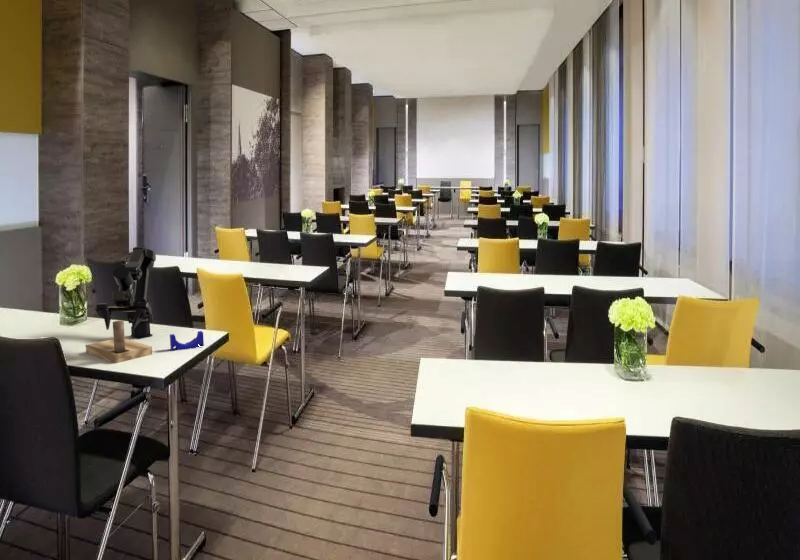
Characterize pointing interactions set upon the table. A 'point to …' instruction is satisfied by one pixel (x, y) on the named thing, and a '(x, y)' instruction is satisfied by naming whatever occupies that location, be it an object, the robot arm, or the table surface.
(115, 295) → the robot arm
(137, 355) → the stool seat
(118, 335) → the stool leg
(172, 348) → the blue cradle bracket
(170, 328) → the table surface
